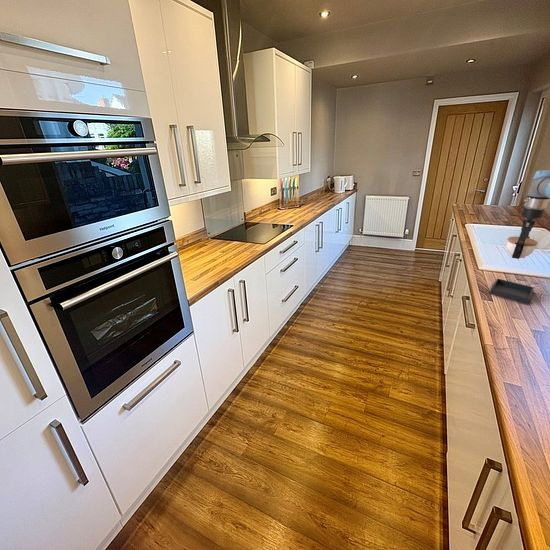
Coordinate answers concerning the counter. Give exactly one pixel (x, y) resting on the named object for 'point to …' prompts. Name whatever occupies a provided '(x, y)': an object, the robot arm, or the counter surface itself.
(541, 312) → the counter surface
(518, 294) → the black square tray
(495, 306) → the counter surface
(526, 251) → the trinket box
